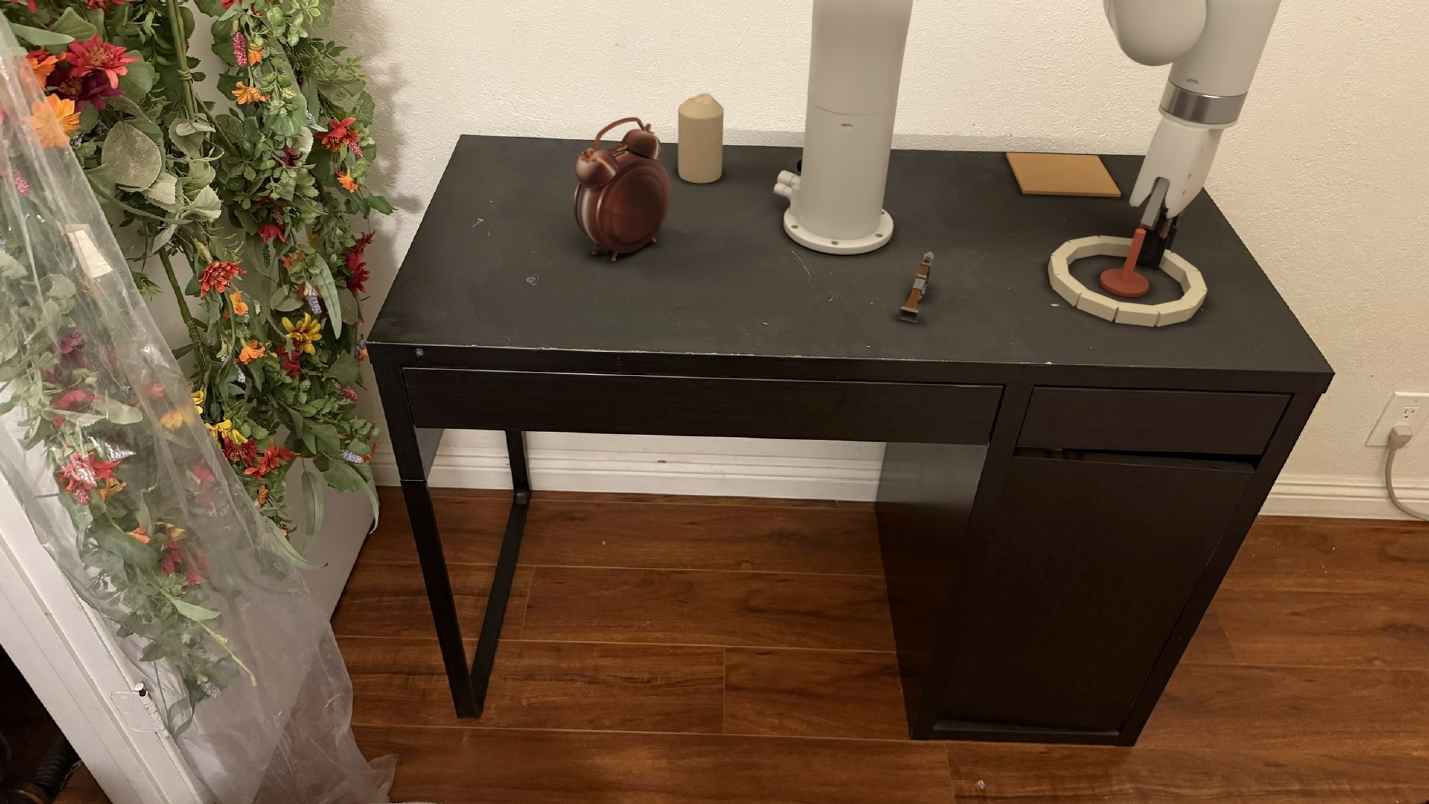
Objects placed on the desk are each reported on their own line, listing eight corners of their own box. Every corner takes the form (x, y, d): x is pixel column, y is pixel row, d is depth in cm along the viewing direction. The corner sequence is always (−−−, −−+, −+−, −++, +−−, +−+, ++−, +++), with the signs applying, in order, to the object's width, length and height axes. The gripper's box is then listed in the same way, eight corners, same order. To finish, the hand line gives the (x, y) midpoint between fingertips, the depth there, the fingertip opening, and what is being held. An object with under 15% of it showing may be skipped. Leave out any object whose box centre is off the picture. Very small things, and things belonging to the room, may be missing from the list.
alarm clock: (645, 225, 115) (642, 99, 105) (674, 240, 112) (674, 113, 103) (572, 258, 109) (562, 128, 99) (601, 275, 106) (593, 143, 97)
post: (1091, 286, 107) (1108, 231, 103) (1110, 268, 110) (1126, 214, 106) (1136, 303, 104) (1155, 247, 100) (1154, 284, 107) (1173, 229, 103)
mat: (1023, 193, 123) (1024, 190, 123) (1005, 155, 132) (1006, 152, 132) (1120, 197, 123) (1121, 193, 123) (1096, 158, 132) (1097, 155, 131)
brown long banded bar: (936, 275, 106) (939, 249, 102) (915, 336, 103) (917, 311, 99) (920, 271, 106) (922, 245, 102) (898, 332, 103) (900, 307, 99)
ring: (1168, 344, 98) (1173, 331, 97) (1024, 288, 106) (1027, 275, 105) (1220, 282, 108) (1225, 269, 107) (1084, 234, 116) (1088, 222, 114)
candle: (695, 160, 128) (696, 85, 122) (730, 172, 126) (732, 95, 120) (669, 175, 125) (668, 98, 119) (704, 188, 123) (706, 109, 116)
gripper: (1191, 70, 106) (1141, 224, 118) (1135, 113, 97) (1086, 275, 108) (1264, 88, 103) (1205, 245, 114) (1213, 135, 93) (1154, 301, 105)
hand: (1148, 259), depth 111 cm, fingers closed on ring, 1 cm apart
